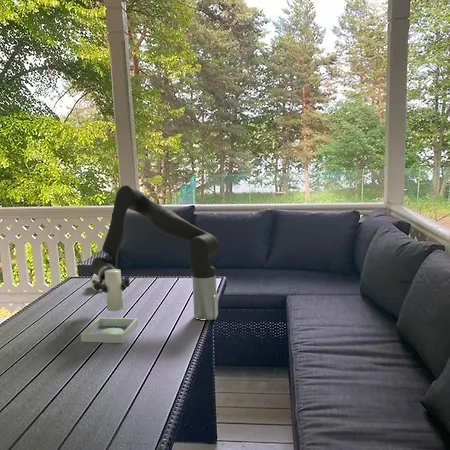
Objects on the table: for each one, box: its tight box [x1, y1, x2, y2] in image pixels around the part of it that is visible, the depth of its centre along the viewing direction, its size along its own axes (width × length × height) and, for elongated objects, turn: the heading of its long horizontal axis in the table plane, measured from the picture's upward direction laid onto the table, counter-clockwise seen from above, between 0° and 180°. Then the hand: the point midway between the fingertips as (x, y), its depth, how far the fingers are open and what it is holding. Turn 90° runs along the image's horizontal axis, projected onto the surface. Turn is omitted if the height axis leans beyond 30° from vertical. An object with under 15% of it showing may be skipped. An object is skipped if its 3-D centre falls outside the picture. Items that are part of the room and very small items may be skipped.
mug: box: [90, 273, 102, 292], centre depth 220 cm, size 12×10×8 cm
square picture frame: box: [80, 317, 139, 344], centre depth 163 cm, size 16×16×3 cm
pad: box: [98, 327, 124, 334], centre depth 163 cm, size 9×9×1 cm
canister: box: [105, 268, 124, 312], centre depth 160 cm, size 6×6×14 cm
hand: (114, 288), depth 158 cm, fingers closed on canister, 5 cm apart
